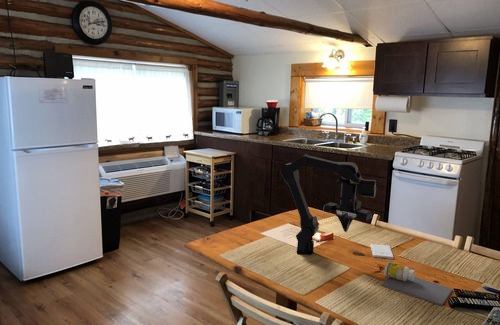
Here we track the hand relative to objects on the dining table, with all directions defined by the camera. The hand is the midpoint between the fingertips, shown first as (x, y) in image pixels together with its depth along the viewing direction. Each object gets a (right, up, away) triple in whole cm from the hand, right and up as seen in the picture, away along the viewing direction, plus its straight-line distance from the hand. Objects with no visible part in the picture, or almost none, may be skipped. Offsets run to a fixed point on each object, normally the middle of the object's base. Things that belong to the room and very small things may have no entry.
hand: (345, 231), depth 157 cm
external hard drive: (+18, -12, +10) cm, 24 cm away
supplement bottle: (+12, -11, -13) cm, 21 cm away
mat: (+20, -16, -20) cm, 33 cm away
